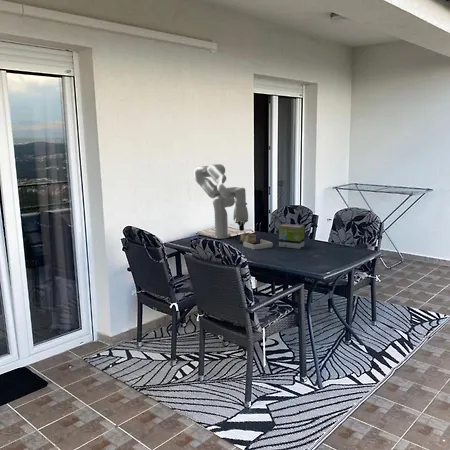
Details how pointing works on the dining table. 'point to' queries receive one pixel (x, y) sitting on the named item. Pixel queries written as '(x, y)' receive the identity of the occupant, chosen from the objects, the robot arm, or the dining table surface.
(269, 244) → the bay
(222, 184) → the robot arm
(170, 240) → the dining table surface
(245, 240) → the cart
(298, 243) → the tea box
